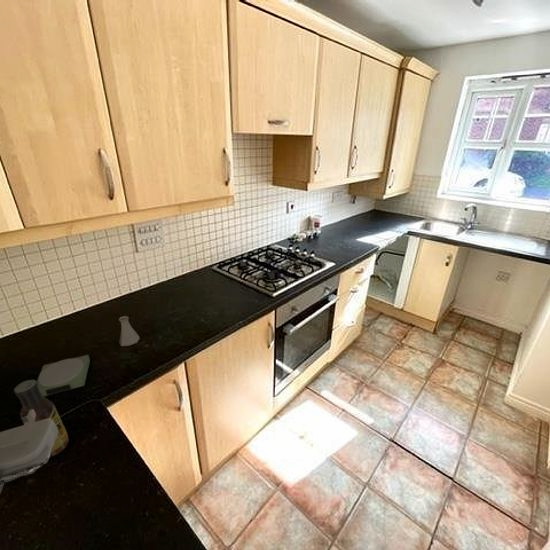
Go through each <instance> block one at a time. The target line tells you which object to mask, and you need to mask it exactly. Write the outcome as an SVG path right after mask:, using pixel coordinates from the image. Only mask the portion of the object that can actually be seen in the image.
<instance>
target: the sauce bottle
mask: <svg viewBox="0 0 550 550" xmlns="http://www.w3.org/2000/svg"><path fill="white" fill-rule="evenodd" d="M13 392H14V394H15V396H16V397H17V398H18V399H19V401H20V404H21V406H22V407H21V409H20V414H19V415H20V416H19V417H21V416H22V415H23V412H25V411H28V410H32V409H34V411H35V413H36V417H35V420H34V421H35V422H37V421H40V420H44V419H48V418H49V419H51V420H52V421H54V423H55V424H56V426H57V429H58V436H57V438H56V441H55V443H54V446H53V448H52V450H51V454H50V457H49V458H51V457H54V456H56V455H59V454H60V453H61V452H63V451H64V450H65V448H66V447H67V446H68V443H69V435H68V432H67V430H66V428H65V425H64V423H63V421H62V419H61V417H60V414H59V412H58V410H57V408H56V406H55V403H54V402H53V401H51V400H50V399H48V398H47V397H46V396H43V395H42V394H41V393H40V391H39V388H38V384H37V380H35V379H28V380H24V381H22V382H20V383H19V384H17V385H16V386H15V387H14V389H13Z"/></svg>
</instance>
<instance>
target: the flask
mask: <svg viewBox="0 0 550 550" xmlns="http://www.w3.org/2000/svg"><path fill="white" fill-rule="evenodd" d="M118 321H119V322H120V333H119V334H120V335H119V340H118V343H119V345H120V346H121V347H128V346H132V345H134V344H137V343H138V342H139V341H140V336H139V334H138V333H137V332H136V331H135V329H134V328H133V327H132V326H131V324H130V322H129V316H128V315H123V316H120V317H119V318H118Z"/></svg>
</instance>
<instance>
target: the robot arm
mask: <svg viewBox="0 0 550 550" xmlns="http://www.w3.org/2000/svg"><path fill="white" fill-rule="evenodd" d="M35 417H36V413H35V411H34V409H32V410H28V411H25V412H23V415H22V416H20V419H21V421H22V423H23V425H20V426H17V427H12V428H10V429H6V430H3V431H0V494H1V493H2V490H3V488H4V485H5V484H6V483H8V482H11V481H14V480H16V479H18V478H21V477H24V476H29V475H31V474H34V473H36V472H37V470H38V469H40V468H42V467H43V466H44V465H45V464H47V463H48V462H49V461H50V458H51V457H50V454H51V450H52V448H53V446H54V443H55V441H56V438H57V436H58V429H57V426H56V424H55V423H54V421H52V420H51V419H49V418H48V419H44V420H40V421H37V422H35V421H34V420H35Z"/></svg>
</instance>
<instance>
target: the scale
mask: <svg viewBox="0 0 550 550" xmlns="http://www.w3.org/2000/svg"><path fill="white" fill-rule="evenodd" d="M90 362H91V359H90V356H89V354H86V355H80V356H77V357H73V358H66V359H65V358H64V359H61V360H59V361H55V362H51V363H48V364H47V363H46V364H43V365H42V368H41V371H40V372H39V375H38V377H37V380H36V382H37V384H38V388H39V391H40V393H41V394H42V395H43V396H44V397H48V396H51V395H55V394H58V393H63V392H65V391H69V390H73V389H78V388H81V387H84V386H85V385H86V380H87V375H88V371H89V367H90Z"/></svg>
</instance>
